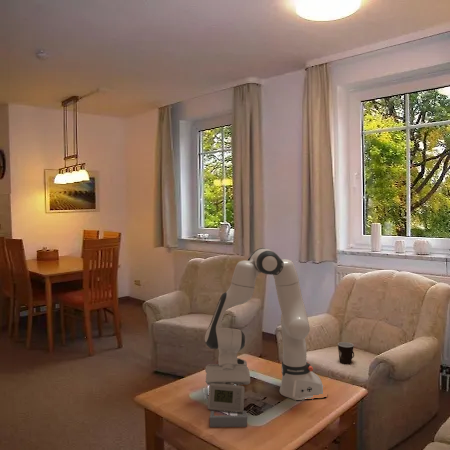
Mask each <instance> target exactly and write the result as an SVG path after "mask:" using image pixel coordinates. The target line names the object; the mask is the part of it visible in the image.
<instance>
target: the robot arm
mask: <svg viewBox="0 0 450 450" xmlns="http://www.w3.org/2000/svg"><path fill="white" fill-rule="evenodd" d="M261 273H262V274H264V275H272V276H273V278H274V285H275V288H276V295H277V300H278V304H279V308H280V311H281V314H280V326H281V327H280V329H281V340H282V361H281V375H282V376H281V382H280V388H279V393H280V394H281V396H283V397H286V398H289V399H292V400H293V401H296V400H302V399H305V398H311V397H313V395H319V394H323V386H324V385H323V381H322V379H321V378H320V376H319V375H317V374H316V373H315V372H313V371H314V368H313V366H312V365H311V364H310V363H309V361H307V343H306V342H307V341H306V338H307V337H308V335H309V333H310V329H311V328H310V323H309V322H310V321H309V318H308V314H307V310H306V306H305V304H304V300H303V296H302V291H301V284H300V280H299V276H298V271H297V268H296V267H295V264H294V262H293V261H292V260H290V259H287V258H284V259H283V258H280V256H279V255H278V254H277V253H276V252H274V251H273V250H272V249H269V248H263V247H262V248H261V247H260V248H258V249H256V250H255V251H253V252H252V254H251V255H250V256H249V257H248V258H247V260H244V259H243V260H240V261H238V262H237V263H236V265H235V268H234V270H233V273H232V278H231V280H230V281H231V283H230V286H229V288H228V289H227V291H225V292H223V293H222V294H221V296H220V297H219V299H218V301H217V304H216V307H215V309H214V312H213V315H212V319H211V321H210V324H209V325H208V328H207V330H206V332H205V335H204V343H205V345H206V346H207V347H208V348H209V349H210V350H218V363H208V364H207V365H206V366H205V367H204V369H205V370H204V371H205V373H206V374H205V375H206V376H205V383H206V384H207V385H208V386H209V385H210V383H215V384H219V383H220V384H232V385H239V386H243V385H247V386H248V385H249V384H250V383H251V374H250V369H249V367H248V363H247V360H245V359H242V358H239V357H238V356H237V355H238V354H237V353H238V352H240V351H241V350H242V349H244V347H245V345H246V336H245V333H244V331H243V330H241V329H238V328H237V329H236V328H228V327H221V324H222V321H223V319H224V315H225V314H226V311H228V309H229V308H232V307H236V306H239V305H244V304H246V303H247V302H249V301H250V300H251V299H252V297H253V295H254V292H255V286H256V282H257V281H256V280H257V278H258V276H259V275H260V274H261ZM302 401H303V400H302Z"/></svg>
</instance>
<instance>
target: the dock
mask: <svg viewBox="0 0 450 450" xmlns="http://www.w3.org/2000/svg"><path fill="white" fill-rule="evenodd" d="M209 428H248V415H247V410H243V412H242V414H241V415H237V414H236V415H215V410H210V415H209Z"/></svg>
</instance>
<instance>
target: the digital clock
mask: <svg viewBox="0 0 450 450" xmlns="http://www.w3.org/2000/svg"><path fill="white" fill-rule="evenodd" d="M245 388H246V387H245V386H243V385H232V384H220V383H219V384H215V383H210V385H208V394H207V395H208V396H207V397H208V398H207V399H208V400H207V409H208V410H210V411H214V412H223V413H224V412H225V413H226V412H227V413H237V414H238V413H241V414H243V411H245V410H244V407H245V391H246V389H245Z"/></svg>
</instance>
